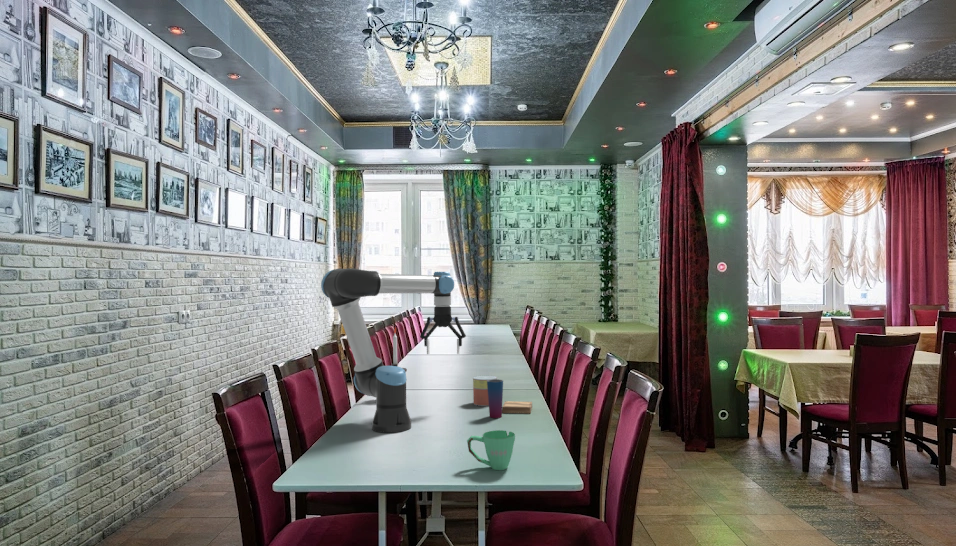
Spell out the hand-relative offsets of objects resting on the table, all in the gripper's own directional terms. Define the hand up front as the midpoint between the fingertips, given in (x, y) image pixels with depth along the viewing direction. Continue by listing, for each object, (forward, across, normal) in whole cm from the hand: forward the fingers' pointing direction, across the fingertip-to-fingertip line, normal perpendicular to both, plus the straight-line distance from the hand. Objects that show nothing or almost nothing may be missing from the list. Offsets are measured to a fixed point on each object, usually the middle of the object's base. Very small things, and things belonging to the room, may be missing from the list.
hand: (443, 353), depth 261 cm
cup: (+25, -24, +14) cm, 37 cm away
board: (+24, -33, +2) cm, 41 cm away
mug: (+25, -27, +81) cm, 89 cm away
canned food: (+25, -18, -12) cm, 32 cm away
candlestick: (+25, +27, -22) cm, 42 cm away
